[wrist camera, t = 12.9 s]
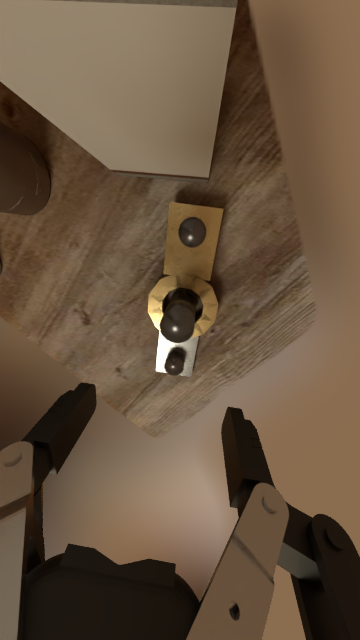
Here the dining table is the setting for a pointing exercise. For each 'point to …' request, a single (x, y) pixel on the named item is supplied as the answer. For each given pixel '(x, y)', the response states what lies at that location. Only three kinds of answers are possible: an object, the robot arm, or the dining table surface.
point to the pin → (179, 318)
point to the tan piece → (186, 279)
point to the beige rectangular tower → (124, 77)
